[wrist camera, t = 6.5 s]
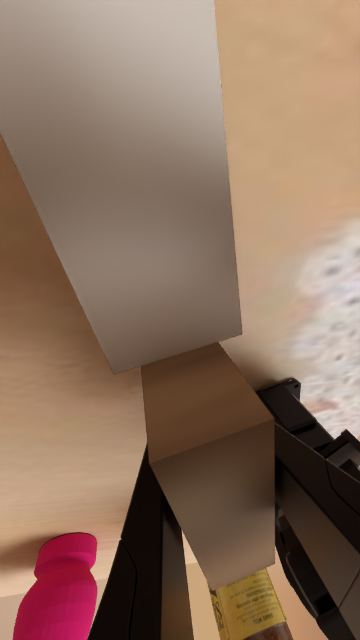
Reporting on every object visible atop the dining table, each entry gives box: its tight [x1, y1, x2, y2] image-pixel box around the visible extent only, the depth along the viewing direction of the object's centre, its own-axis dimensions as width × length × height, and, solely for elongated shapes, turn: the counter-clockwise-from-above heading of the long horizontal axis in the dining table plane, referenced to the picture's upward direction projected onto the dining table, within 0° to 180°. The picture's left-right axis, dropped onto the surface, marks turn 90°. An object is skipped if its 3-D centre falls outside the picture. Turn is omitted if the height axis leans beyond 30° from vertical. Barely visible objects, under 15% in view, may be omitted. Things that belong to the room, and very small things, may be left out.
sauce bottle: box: [207, 568, 293, 640], centre depth 19 cm, size 7×6×20 cm
